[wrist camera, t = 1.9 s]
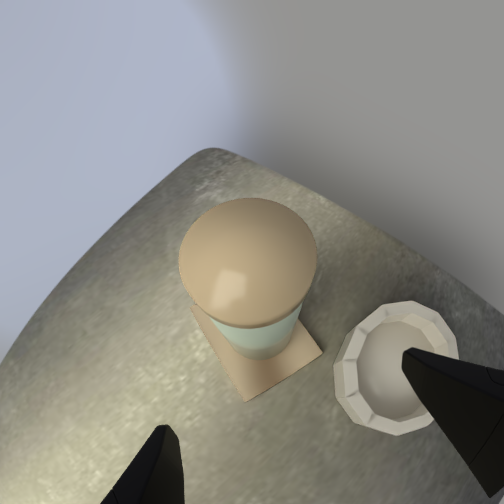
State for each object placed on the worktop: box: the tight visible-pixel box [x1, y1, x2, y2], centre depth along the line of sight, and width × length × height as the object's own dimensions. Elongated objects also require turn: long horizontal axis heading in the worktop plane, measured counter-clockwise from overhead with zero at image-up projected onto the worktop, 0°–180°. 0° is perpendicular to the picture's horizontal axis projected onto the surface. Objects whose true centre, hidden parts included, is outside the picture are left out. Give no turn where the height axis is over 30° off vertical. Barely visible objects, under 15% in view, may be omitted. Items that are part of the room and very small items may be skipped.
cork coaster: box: [190, 304, 323, 402], centre depth 21 cm, size 7×9×1 cm
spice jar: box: [179, 198, 317, 360], centre depth 16 cm, size 5×5×12 cm
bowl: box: [333, 301, 459, 436], centre depth 18 cm, size 10×10×3 cm
